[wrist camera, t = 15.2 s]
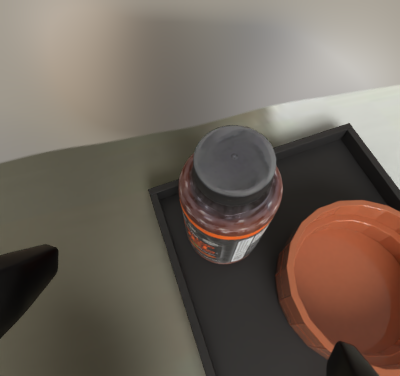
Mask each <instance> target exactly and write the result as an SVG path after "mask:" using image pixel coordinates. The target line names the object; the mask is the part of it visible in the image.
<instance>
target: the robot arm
mask: <svg viewBox="0 0 400 376" xmlns="http://www.w3.org/2000/svg"><path fill="white" fill-rule="evenodd" d="M57 270H58V249H57V248H56V247H53V246H50V245H47V244H45V245H40V246H36V247H32V248H28V249H23V250H19V251H15V252H11V253H7V254H3V255H0V339H1V338H2V336H3V335H4V334H5V333H6V332H7V331H8V330H9V329H10V328H11V327H12V326H13V325H14V324H15V323H16V322H17V321H18V320H19V319H20V318H21V317H22V316H23V314H24V313H25V312H26V311H27V310H28V309H29V307H30V306H31V305H32V304H33V302H34V301H35V300H36V299H37V297H38V296H39V295H40V294H41V292H42V291H43V290H44V289H45V288H46V286H47V285H48V284H49V283H50V281H51V280H52V279H53V278H54V276H55V275H56V273H57ZM326 374H327V376H380V375H379V374H378V373H377V372H376V371H375V370H374V368H373V367H372V366H371V365H370V364H369V362H368V361H367V360H366V359H365V358H364V356H363V355H362V354H361V353H360V352H359V350H358V349H357V348H356V347H355V346H354V345H352V344H349V343H346V342H343V341H338V342H337V343H336V344H335V346H334V348H333V350H332V353H331V355H330V357H329V359H328V361H327V366H326Z"/></svg>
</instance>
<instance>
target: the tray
mask: <svg viewBox="0 0 400 376" xmlns="http://www.w3.org/2000/svg"><path fill="white" fill-rule="evenodd" d="M273 149H274V152H275V156H276V166H277V168H278V170H279V172H280V174H281V178H282V184H283V193H282V199H281V202H280V205H279V208H278V210H277V212H276V213H275V215H274V217H273V219H272V220H271V222H270V224H269V225H268V227H267V228H266V230H265V232H264V233H263V235H262V237H261V238H260V240H259V242H258V243H257V245H256V246H255V248H254V249H253V251H252V252H251V253H250V254H249V255H248V256H247V257H245V258H244V259H242V260H240V261H238V262H235V263H231V264H218V263H213V262H211V261H208V260H206V259H204V258H203V257H202V256H200V255H199V254H198V253H197V252H196V251H195V250H194V249H193V247H192V245H191V243H190V241H189V239H188V236H187V233H186V228H185V223H184V218H183V213H182V209H181V204H180V198H179V179H178V180H175V181H172V182H169V183H166V184H162V185H159V186H156V187H153V188H150V189H148V191H149V194H150V197H151V200H152V204H153V207H154V210H155V213H156V216H157V220H158V223H159V226H160V229H161V232H162V236H163V239H164V242H165V245H166V248H167V252H168V255H169V258H170V261H171V264H172V268H173V271H174V274H175V277H176V280H177V284H178V287H179V290H180V293H181V296H182V300H183V303H184V306H185V309H186V312H187V316H188V319H189V322H190V325H191V328H192V332H193V335H194V338H195V341H196V344H197V348H198V351H199V354H200V357H201V360H202V364H203V367H204V370H205V373H206V376H327V374H326V366H327V361H328V360H327V359H326V358H324V357H323V356H321V355H320V354H318V353H317V352H315V351H314V350H313V349H311V348H310V347H308V346H307V345H306V344H305V343H304V341H303V340H302V339H301V338H300V336H299V335H298V334H297V333H296V332H295V330H294V329H293V328H292V327H291V326H290V324H289V323H288V320H287V318H286V316H285V314H284V311H283V309H282V307H281V305H280V303H279V299H278V294H277V287H276V280H275V274H276V268H277V262H278V256H279V253H280V251H281V250H282V248H283V246H284V244H285V242H286V241H287V239H288V237H289V236H290V235H291V234H292V233H293V232H294V230H295V229H296V228H297V227H298V226H299V225H300V223H301V222H302V221H304V220H305V219H306V218H307V217H308V216H310V215H311V214H312V213H313V212H314V211H315V210H317V209H318V208H321V207H323V206H326V205H329V204H332V203H334V202H337V201H346V200H366V201H370V202H374V203H379V204H383V205H387V206H390V207H392V208H393V209H395V210H397V211H399V212H400V190H399V189H398V187H397V186H396V185H395V183H394V182H393V181H392V179H391V178H390V177H389V175H388V174H387V173H386V171H385V170H384V169H383V167H382V166H381V165H380V163H379V162H378V161H377V159H376V158H375V157H374V155H373V154H372V153H371V151H370V150H369V149H368V147H367V146H366V145H365V143H364V142H363V141H362V139H361V138H360V137H359V135H358V134H357V133H356V131H355V130H354V129H353V127H352V126H351V125H350V123H348V124H345V125H342V126H339V127H336V128H333V129H330V130H327V131H324V132H321V133H318V134H315V135H312V136H309V137H306V138H303V139H300V140H296V141H293V142H290V143H287V144H284V145H281V146H278V147H275V148H273Z"/></svg>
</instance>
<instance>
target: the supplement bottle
mask: <svg viewBox="0 0 400 376" xmlns="http://www.w3.org/2000/svg"><path fill="white" fill-rule="evenodd" d="M282 193H283V184H282V178H281V174H280V172H279V170H278V168H277V166H276V156H275V152H274V149H273V147H272V145H271V144H270V142H269V141H268V140H267V139H266V138H265V137H264V136H263V135H262V134H261V133H258V132H257V131H256V130H254V129H251V128H249V127H244V126H238V125H228V126H222V127H219V128H216V129H214V130H212V131H210V132H209V133H207V134H206V135H205V136H204V137H202V139H201V140H200V141H199V143H198V144H197V146H196V148H195V151H194V153H193V154H192V155H191V156H190V157H189V159H188V160H187V161H186V163H185V165H184V166H183V169H182V171H181V174H180V177H179V198H180V204H181V209H182V213H183V218H184V223H185V228H186V233H187V236H188V239H189V241H190V243H191V245H192V247H193V249H194V250H195V251H196V252H197V253H198V254H199V255H200V256H202V257H203V258H204V259H206V260H208V261H211V262H213V263H218V264H231V263H235V262H238V261H240V260H242V259H244V258H245V257H247V256H248V255H249V254H250V253H251V252H252V251H253V249H254V248H255V246H256V245H257V243H258V242H259V240H260V238H261V237H262V235H263V233H264V232H265V230H266V228H267V227H268V225H269V224H270V222H271V220H272V219H273V217H274V215H275V213H276V212H277V210H278V208H279V205H280V202H281V199H282Z"/></svg>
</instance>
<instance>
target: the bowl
mask: <svg viewBox="0 0 400 376" xmlns="http://www.w3.org/2000/svg"><path fill="white" fill-rule="evenodd" d="M275 280H276V287H277V294H278V299H279V303H280V305H281V307H282V309H283V311H284V314H285V316H286V318H287V320H288V323H289V324H290V326H291V327H292V328H293V329H294V330H295V332H296V333H297V334H298V335H299V336H300V338H301V339H302V340H303V341H304V343H305V344H306V345H307V346H308V347H310V348H311V349H313V350H314V351H315V352H317V353H318V354H320V355H321V356H323V357H324V358H326V359H327V360H328V359H329V357H330V355H331V353H332V350H333V348H334V346H335V344H336V343H337V342H338V341H343V342H346V343H349V344H352V345H354V346H355V347H356V348H357V349H358V350H359V352H360V353H361V354H362V355H363V356H364V358H365V359H366V360H367V361H368V362H369V364H370V365H371V366H372V367H373V368H374V370H375V371H376V372H377V373H378V374H379V375H380V376H400V212H399V211H397V210H395V209H393V208H392V207H390V206H387V205H383V204H379V203H374V202H370V201H366V200H346V201H337V202H334V203H332V204H329V205H326V206H323V207H321V208H318V209H317V210H315V211H314V212H313V213H312V214H311V215H310V216H308V217H307V218H306V219H305V220H304V221H302V222H301V223H300V225H299V226H298V227H297V228H296V229H295V230H294V232H293V233H292V234H291V235H290V236H289V237H288V239H287V241H286V242H285V244H284V246H283V248H282V250H281V251H280V253H279V256H278V262H277V268H276V274H275Z"/></svg>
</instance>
